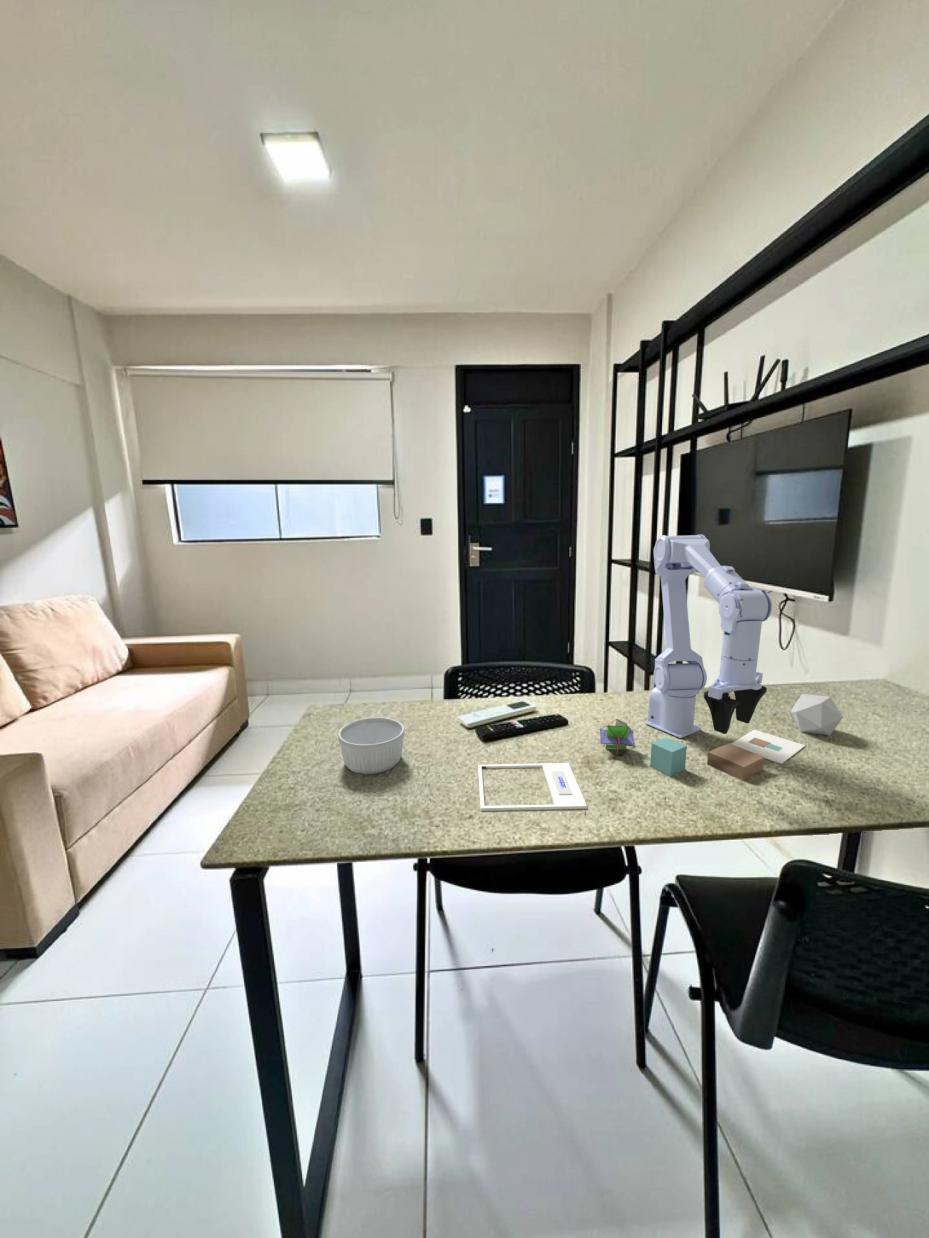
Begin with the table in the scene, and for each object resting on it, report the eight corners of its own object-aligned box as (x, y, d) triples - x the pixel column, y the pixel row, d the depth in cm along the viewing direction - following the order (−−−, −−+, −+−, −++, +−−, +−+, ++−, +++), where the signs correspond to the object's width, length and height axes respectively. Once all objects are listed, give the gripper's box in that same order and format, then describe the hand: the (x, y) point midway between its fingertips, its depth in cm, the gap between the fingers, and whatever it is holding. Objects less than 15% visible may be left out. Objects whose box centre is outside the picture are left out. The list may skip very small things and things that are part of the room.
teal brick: (650, 766, 95) (651, 743, 94) (664, 760, 97) (666, 737, 96) (670, 776, 91) (672, 752, 90) (684, 769, 93) (686, 745, 92)
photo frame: (587, 804, 81) (480, 807, 81) (586, 810, 81) (480, 813, 81) (568, 762, 96) (478, 763, 96) (568, 767, 96) (478, 769, 96)
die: (833, 729, 110) (807, 689, 113) (860, 726, 102) (831, 683, 105) (800, 744, 110) (775, 703, 113) (824, 742, 101) (796, 698, 105)
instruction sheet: (728, 745, 102) (729, 744, 102) (754, 730, 109) (754, 729, 109) (781, 764, 94) (781, 762, 94) (805, 746, 101) (805, 744, 101)
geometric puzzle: (637, 755, 94) (636, 715, 98) (601, 752, 96) (601, 713, 99) (632, 761, 101) (631, 723, 104) (598, 758, 102) (598, 721, 105)
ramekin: (415, 750, 103) (413, 719, 102) (389, 782, 91) (387, 748, 89) (359, 743, 107) (357, 714, 105) (327, 773, 94) (324, 741, 93)
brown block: (706, 766, 95) (708, 752, 94) (727, 756, 98) (728, 743, 98) (742, 781, 89) (744, 767, 88) (762, 771, 93) (764, 756, 92)
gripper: (740, 669, 79) (732, 745, 82) (783, 654, 87) (774, 724, 90) (699, 659, 85) (693, 730, 88) (743, 646, 93) (736, 712, 96)
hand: (731, 726), depth 89 cm, fingers open, 7 cm apart
